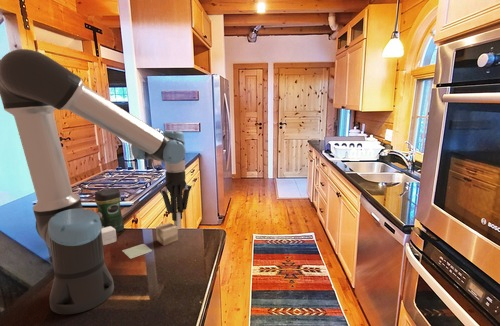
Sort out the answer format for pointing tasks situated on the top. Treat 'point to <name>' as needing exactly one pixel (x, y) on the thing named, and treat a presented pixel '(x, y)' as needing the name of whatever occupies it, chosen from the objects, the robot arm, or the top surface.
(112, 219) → the coffee jar
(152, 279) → the top surface
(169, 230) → the maple block
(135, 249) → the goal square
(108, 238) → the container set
